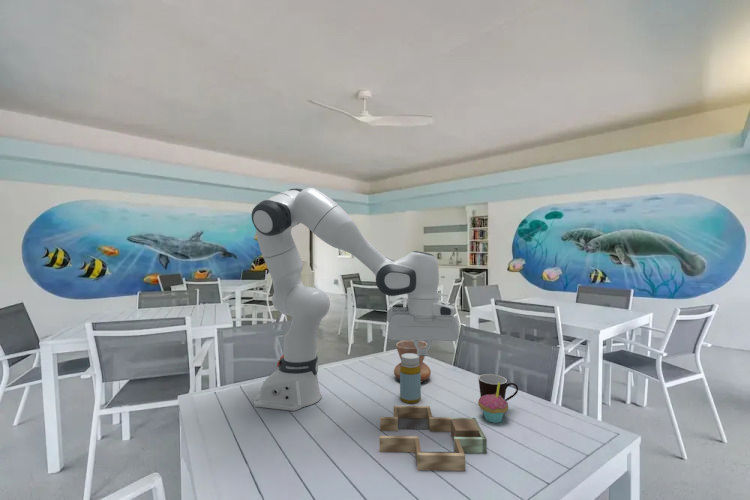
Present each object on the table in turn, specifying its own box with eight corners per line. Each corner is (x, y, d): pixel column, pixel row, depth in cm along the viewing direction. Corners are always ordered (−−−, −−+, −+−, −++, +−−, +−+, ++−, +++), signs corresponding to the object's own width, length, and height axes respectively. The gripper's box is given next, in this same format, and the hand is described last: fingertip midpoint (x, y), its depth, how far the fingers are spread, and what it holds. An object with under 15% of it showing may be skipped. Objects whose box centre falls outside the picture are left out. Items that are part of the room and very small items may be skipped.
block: (455, 447, 88) (455, 430, 88) (451, 435, 94) (451, 419, 94) (479, 447, 88) (479, 430, 88) (472, 435, 94) (472, 419, 94)
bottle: (420, 395, 120) (420, 352, 120) (421, 404, 113) (420, 359, 113) (400, 394, 120) (400, 352, 120) (399, 403, 114) (399, 358, 114)
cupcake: (507, 414, 105) (507, 376, 105) (508, 428, 97) (508, 386, 97) (478, 410, 108) (478, 373, 108) (477, 423, 100) (477, 382, 100)
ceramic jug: (396, 370, 145) (395, 337, 144) (430, 371, 143) (430, 338, 142) (391, 388, 127) (391, 350, 127) (431, 390, 125) (430, 351, 125)
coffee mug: (476, 413, 107) (475, 381, 107) (481, 402, 114) (481, 372, 114) (516, 421, 101) (515, 388, 101) (518, 409, 109) (518, 378, 109)
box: (378, 469, 79) (378, 454, 79) (380, 417, 104) (380, 405, 104) (495, 471, 79) (495, 456, 79) (469, 417, 104) (469, 406, 104)
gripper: (387, 308, 95) (386, 358, 95) (460, 309, 95) (460, 359, 95) (386, 305, 101) (386, 351, 101) (455, 306, 101) (454, 352, 101)
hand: (422, 355), depth 98 cm, fingers closed
